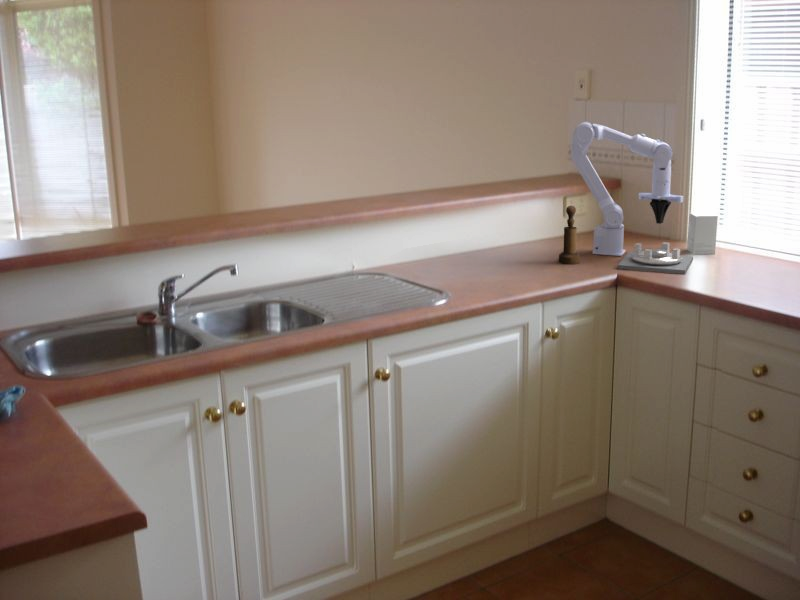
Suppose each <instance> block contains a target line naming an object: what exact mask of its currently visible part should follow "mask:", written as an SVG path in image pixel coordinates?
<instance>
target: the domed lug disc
mask: <svg viewBox="0 0 800 600" xmlns="http://www.w3.org/2000/svg"><path fill="white" fill-rule="evenodd" d="M670 247H671V242H666V241H664V242H661V248H648V249H647V248H646V249H643V243H642V242H641V243H640V242H636V243H634V246H633V252H634V253H633V254H632V260H633V261H635V262H638V263H642V264H648V265H673V264H678V263H680V262H681V258H682V257H681V255H682V254H681V249H680V248H676V247H675V248H672V252H670V251H671V250H670V249H671V248H670Z"/></svg>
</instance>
